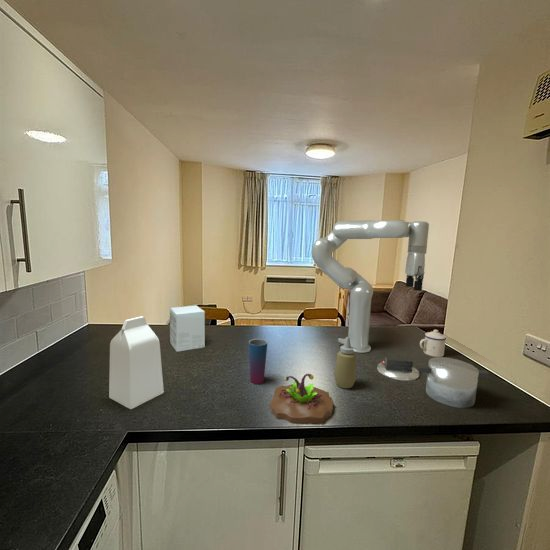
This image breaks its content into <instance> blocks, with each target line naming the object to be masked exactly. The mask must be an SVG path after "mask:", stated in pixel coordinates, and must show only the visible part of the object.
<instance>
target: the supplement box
mask: <svg viewBox="0 0 550 550" xmlns="http://www.w3.org/2000/svg"><path fill="white" fill-rule="evenodd" d="M205 314H206V311H205V310H203V309H202V308H201V307H199V306H198V305H196V304H195V305H187V306H186V305H185V306H175V307H174V306H173V307H170V308H169V337H170V338H169V343H170V345H171V346H172V348H173V349H174V350H175V351H176V353H177V352H182V351H189V350H194V349H201V348H205V347H206V345H205V344H206V342H205V341H206V334H205V330H206V328H205V327H206V324H205V323H206V322H205V321H206V319H205V317H206V315H205Z"/></svg>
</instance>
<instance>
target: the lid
mask: <svg viewBox="0 0 550 550" xmlns="http://www.w3.org/2000/svg"><path fill="white" fill-rule="evenodd" d="M413 365H414V361H413V360H412V359H411V358H410V357H409V358H406V357H398V356H397V357H393V356H384V360H383V359H382V361H381V362H379V363H378V364H377V367H376V368H377V371H378V372H379V373H380V374H382V375H383V376H385V377H387V378H390V379H393V380H397V381H398V380H399V381H415V380H417V379H418V378H420V372H419V371H418V370H417V367H416V368H415V367H414V366H413Z"/></svg>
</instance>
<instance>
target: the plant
mask: <svg viewBox="0 0 550 550" xmlns="http://www.w3.org/2000/svg"><path fill="white" fill-rule="evenodd" d="M306 377H308V378H309V380H313V379H314V375H313V374H311V373H305V374H304V375H303V376H302V378H301V382H299V380H298V379H297V378H296V377H294V376H292V375H289V376H285V377H284V381H285V382H289V380H290V379H292V380H294V381H293V383H290V384H288V385H279V386H278V387H276V388H275V389H274V392H273V397H272V399H271V401H270V403H269V410H270V412H271V414H272V415H273V416H274V417H275V419H277V420H285V421H287V422H288V423H291V424H300V425H301V424H302V425H303V424H304V425H306V424H307V425H308V424H309V425H321V424H323V423H324V422H326V420H327V419H329V418H331V416H332V414H333V409H334V400H332V398H331V396H330V392H329V391H326V390H323V389H320V388H318V387H315V386H314V384H313V383H310V384H308V385H306V386H305V380H306Z"/></svg>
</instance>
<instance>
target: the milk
mask: <svg viewBox="0 0 550 550" xmlns="http://www.w3.org/2000/svg"><path fill="white" fill-rule="evenodd" d="M160 344H161V343H160V340H159V337H158V336H157V335H156V334H155V331H154V330H152V327H150V325H149V324H148V322H147V320H146V317H145V316H142V315H141V316H136V317H133V318H129V319H125V320H124V321H123V325H122V327H121V329H120V330H119V331H118V333H116V334H115V336H113V338H112V339H111V340H110V343H109V378H108V379H109V382H108V383H109V384H108V385H109V389H108V392H109V394H108V398H109V399H111V400H113V401H114V402H116V403H118V404H120V405H122V406H123V407H125V408H127V409H129V410H132V409H134V408H137V407H138V406H140V405H143V404H144V403H146V402H148V401H150V400H152V399H155V398H157V397H158V396H160V395H162V394H164V393H165V392H164V390H165V389H164V379H163V369H162V355H161V345H160Z"/></svg>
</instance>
